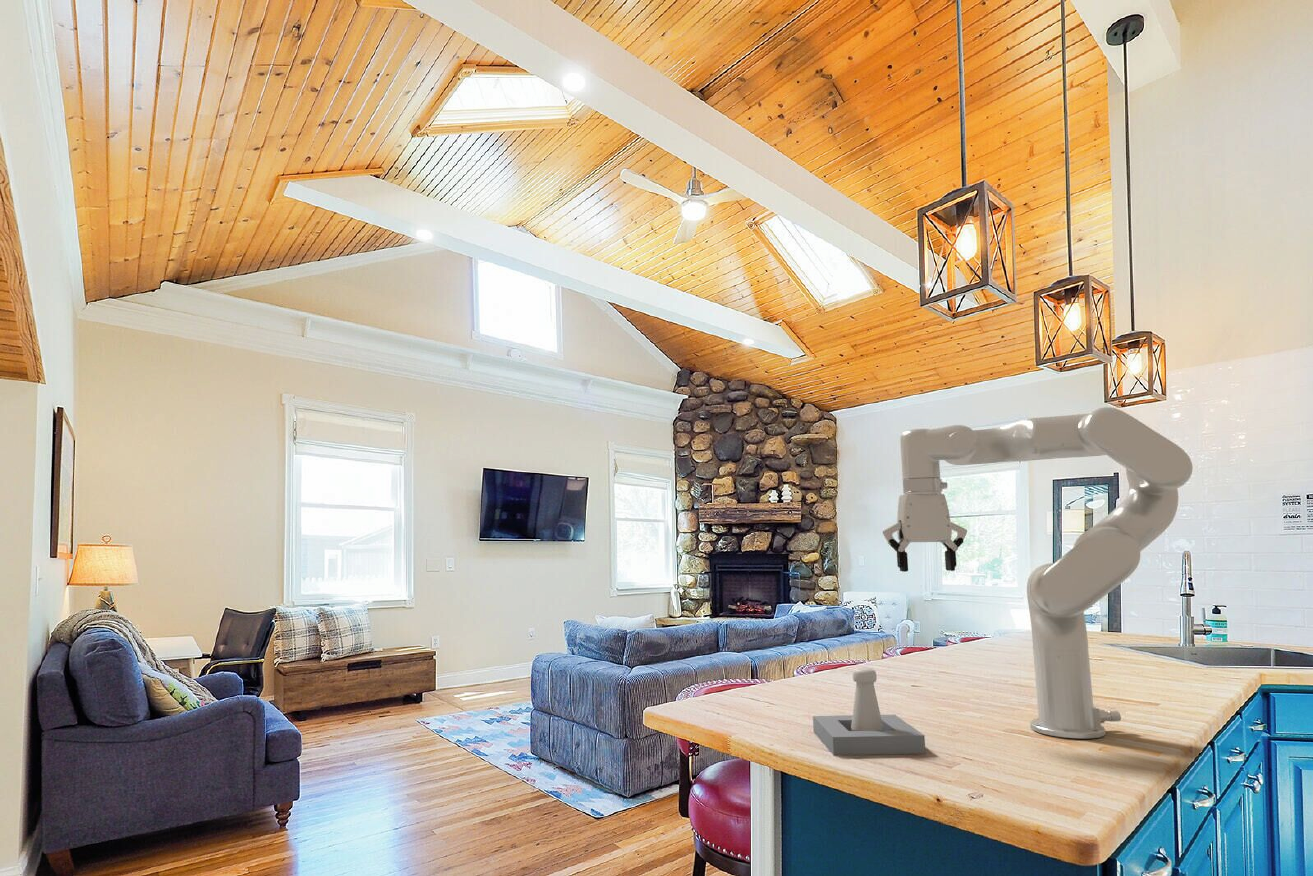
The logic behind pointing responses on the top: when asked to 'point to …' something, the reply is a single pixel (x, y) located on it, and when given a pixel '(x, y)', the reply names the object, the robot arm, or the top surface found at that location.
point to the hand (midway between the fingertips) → (927, 570)
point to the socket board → (868, 736)
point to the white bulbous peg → (865, 702)
